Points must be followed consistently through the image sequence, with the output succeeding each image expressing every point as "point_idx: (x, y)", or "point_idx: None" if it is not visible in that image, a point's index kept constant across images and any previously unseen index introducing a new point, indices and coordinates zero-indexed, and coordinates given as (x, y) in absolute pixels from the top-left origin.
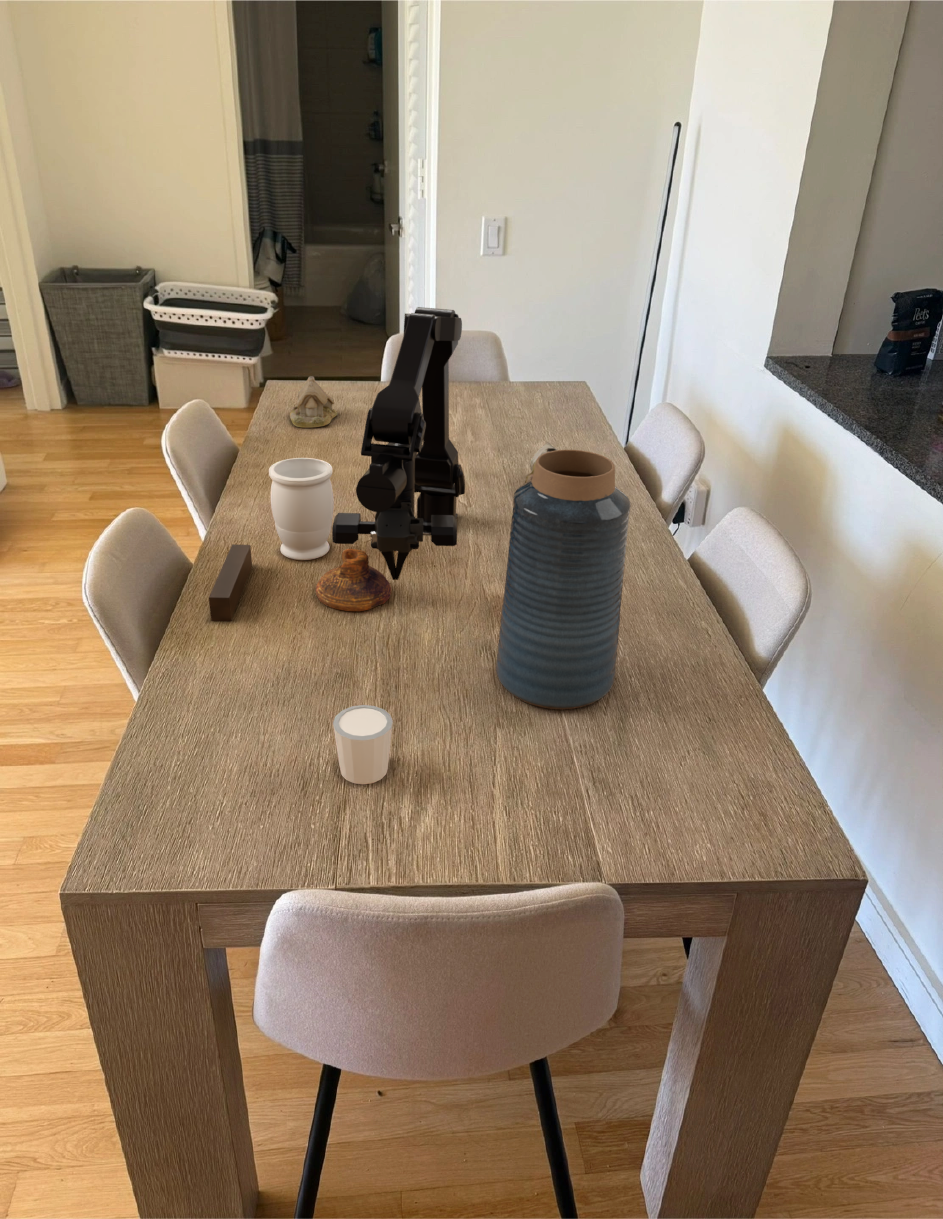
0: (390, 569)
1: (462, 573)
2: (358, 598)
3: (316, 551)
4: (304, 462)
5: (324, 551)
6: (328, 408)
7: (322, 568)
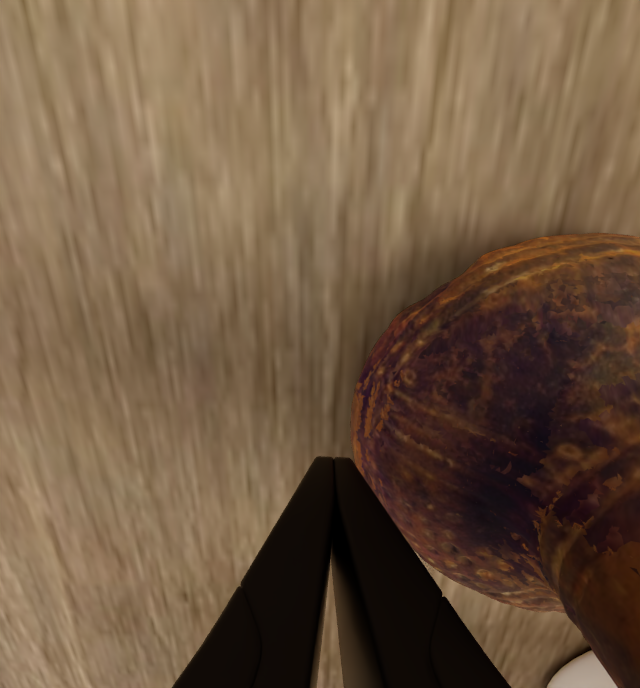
0: (380, 522)
1: (73, 554)
2: (604, 258)
3: None
4: None
5: (581, 678)
6: None
7: None
